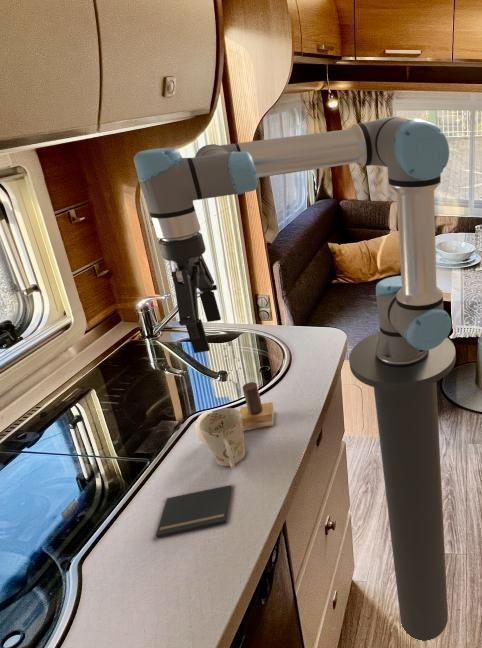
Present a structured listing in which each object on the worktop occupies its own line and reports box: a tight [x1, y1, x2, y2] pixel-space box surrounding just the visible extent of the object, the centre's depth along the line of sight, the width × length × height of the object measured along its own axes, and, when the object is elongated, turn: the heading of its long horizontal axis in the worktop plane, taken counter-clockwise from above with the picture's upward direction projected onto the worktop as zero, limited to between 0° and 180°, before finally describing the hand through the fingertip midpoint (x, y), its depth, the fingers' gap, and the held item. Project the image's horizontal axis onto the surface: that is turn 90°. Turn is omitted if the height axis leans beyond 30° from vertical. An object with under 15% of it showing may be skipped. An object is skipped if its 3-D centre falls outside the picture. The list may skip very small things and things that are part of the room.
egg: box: [194, 410, 214, 445], centre depth 112 cm, size 6×6×8 cm
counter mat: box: [155, 484, 232, 538], centre depth 96 cm, size 12×9×1 cm
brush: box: [239, 381, 275, 432], centre depth 117 cm, size 7×5×10 cm, turn 104°
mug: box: [199, 407, 246, 469], centre depth 105 cm, size 8×13×10 cm, turn 33°
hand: (208, 335), depth 102 cm, fingers open, 13 cm apart
